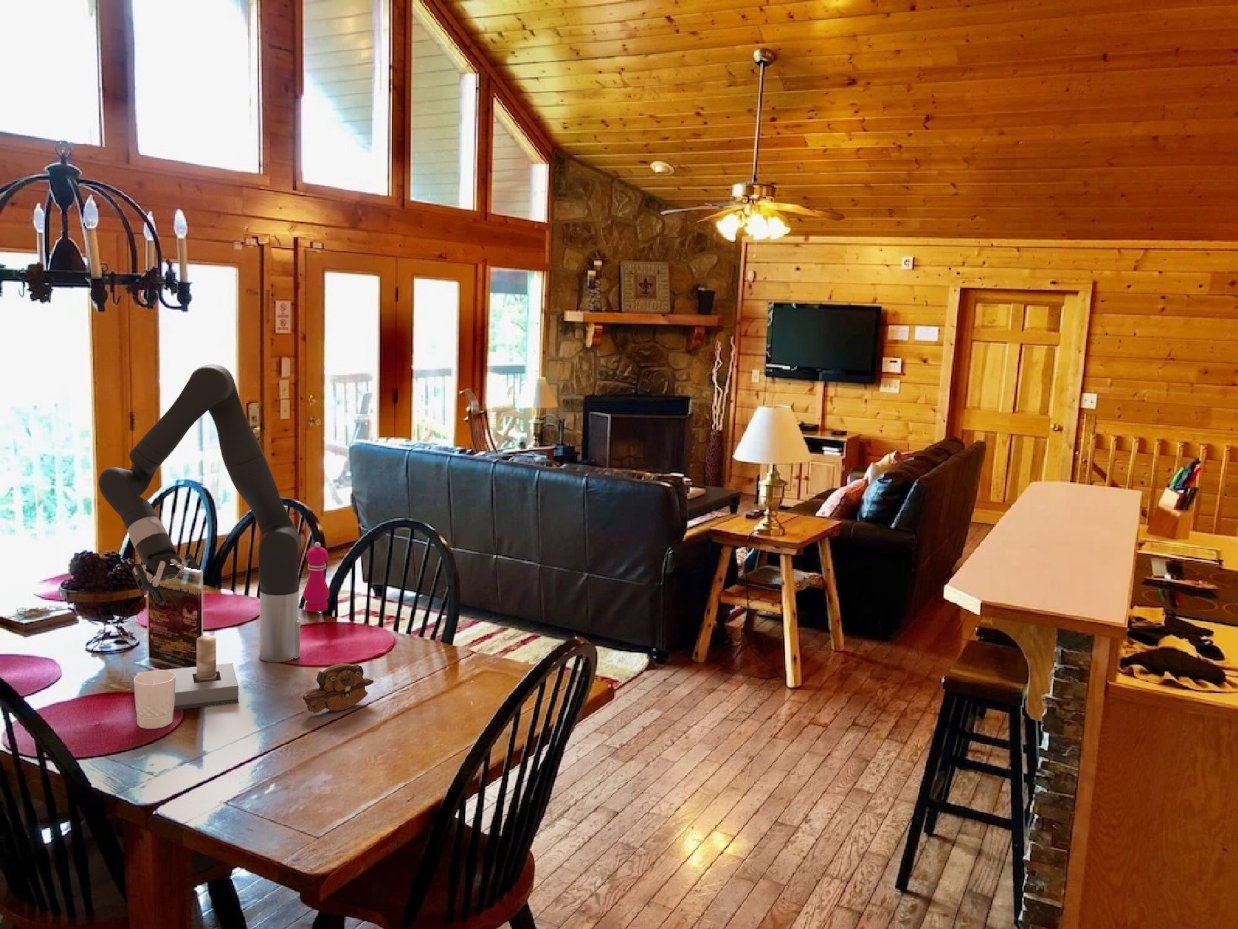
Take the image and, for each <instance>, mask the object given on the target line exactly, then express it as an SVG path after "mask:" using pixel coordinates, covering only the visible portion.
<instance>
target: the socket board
mask: <svg viewBox="0 0 1238 929" xmlns="http://www.w3.org/2000/svg"><path fill="white" fill-rule="evenodd" d="M166 670H167V671H171V672H174V673H175V674H176V685H175V703H174V709H173V711H178V710H179V709H180V710H186V709H187V710H188V709H196V708H205V707H212V706H213V707H214V706H221V705H232V704H239V703H240V702H239V695H240V694H239V690H240V689H239V686H240V685H239V683H238V679H237V676H236V674H237V673H236V672H235V668H234V665H233V663H232V662H230V663H221V664H216V679H215V680H214V681H209V682H200V683H199V682H198V681H197V679H196V675H197V666H191V667H190V666H189V667H181V668H179V667H178V668H170V669H166ZM143 672H144V671H140V672H136V676H137V675H138V674H141V673H143ZM180 710H179V711H180Z"/></svg>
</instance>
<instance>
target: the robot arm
mask: <svg viewBox="0 0 1238 929" xmlns="http://www.w3.org/2000/svg"><path fill="white" fill-rule="evenodd" d="M207 412H209V414H210V415H211V418H212V420H213V424H214V425H215V429H216V434H217V438H218V444H219V449H220V455H221V458H222V461H223V464H224V466H225V469H226V471H227V474H228V475H229V476H228V477H229V478H230V481H231V482H232V484H233V486H234V488H235V489H236V491H237V492H238V494H239V495H240V496H241V498H242V499H243V501H244V502H245V503H246V504H247V506H248V508H249V509H250V510H251V511H252V513H253V515H254V518H255V520H256V523H257V525H258V528H259V532H260V535H261V539H260V542H259V543H258V544H259V545H258V555H257V556H258V559H257V560H258V562H257V563H258V582H259V639H258V640H259V643H258V644H259V645H258V646H259V647H258V648H259V649H258V650H259V651H258V652H259V654H258V656H259V659H260V660H261V661H264V662H267V663H268V662H269V663H282V662H283V663H285V662H288V661H289V662H290V661H291V660H290V659H292V658H294V657H299V656H300V657H301V655H300V654H301V652H300V651H301V621H300V619H299V618H300V616H299V614H300V605H299V604H300V578H299V552H300V549H301V547H302V538H301V536H300V533H299V531H298V529H297V527H296V526H295V524H294V522H293V520H292V519H291V517H290V515H289V513H288V511H287V510H286V508H285V506H284V503H283V502H282V499H281V496H280V492H279V490H278V486H277V484H276V481H275V478H274V476H273V473H272V471H271V468H270V465H269V463H268V460H267V458H266V456H265V454H264V451H263V449H262V447H261V445H260V443H259V441H258V438H257V436H256V434H255V432H254V430H253V427H252V426H251V424H250V422H249V420H248V418H247V417H246V413H245V411H244V408H243V406H242V401H241V398H240V396H239V393H238V389H237V385H236V383H235V379H234V377H233V374H232V373H231V372H230V371H229V369H227V368H226V367H224V366H222V365H219V364H215V363H212V364H207V365H203V366H201V367H198V368H197V369H195V370H194V371H193V372H192V373H191V375H190V377H189V379H188V380H187V382H186V384H185V385H184V387H183V389H182V390H181V392H180V393H179V396H178V397H177V398H176V399H175V401H174V403H173V404H172V405H171V406H170V407H169V409H168V410H167V411H166V412H165V413H164V414H163V416H161V418H160V419H159V420H158V421H156V423H155V424H154V425H152V427H151V428H150V429H149V430H148V431H147V432H146V433H145V435H143V436H142V438H141V439H140V440H139V441H138V442H137V444H135V446H134V447H132V449H131V450H130V452H129V455H128V457H129V460H130V461H131V463H132V465H131V467H130V468H129V469H125V468H122V467H116V466H115V467H113V466H112V467H108V468H106V469H104V470H103V471H102V472H101V473H100V475H99V477H98V478H99V479H98V487H99V491H100V493H101V495H102V497H103V498H104V499H105V501H106V502H107V503H108V504H109V505H110V507H111V508H112V509H113V510H114V511H115V512H116V513H117V514H118V515H119V517H120V519H121V521H122V522H123V525H124V527H125V529H126V531H127V533H128V536H129V539H130V541H131V543H132V546H133V547H134V549H135V552H136V553H137V555H138V557H139V560H140V562H141V563H142V564H141V563H136V564H135V566H134V567H133V568H132V570H131V572H132V575H133V577H134V580H135V582H136V585H137V586H138V589H139V591H140V592H142V593H143V592H145V591H146V592H149V593H151V595H152V597H153V600H154V602H155V603H156V604H158V605H159V606H163V605H165V603H166V602H167V598H166V596H165V594H164V592H163V590H162V588H161V586H159V584H160V581H165V580H167V579H175V578H176V577H178V576H177V574H178V573H180V572H181V573H182V572H184V570H181V569H184V567H186V568H187V567H188V568H191V569H197V570H201V571H202V569H201V568H200V566H199V565H198V563H197V561H196V559H195V558H194V556H193V554H191V553H188V554H187V555H186V556H183V557H180V556H179V555H178V554H177V551H176V547H175V545H174V543H173V542H172V540H171V537H170V536H169V534H168V532H167V530H166V528H165V526H164V525H163V523H162V522H161V520H160V519H159V517H158V515H157V513H156V511H155V509H154V507H153V506H152V504H151V503H150V501H148V500H147V499H145V498H143V497H142V495H143V494H144V493H145V492H146V491H147V490H148V488H149V487H150V484H151V482H152V480H153V479H154V477H155V475H156V471H157V470H158V468H159V467H160V466H161V465H162V464H163V463H164V462H165V461H166V459H167V458H168V457H169V456H170V455H171V454H172V452H174V451H175V449H176V447H177V446H178V445H179V444H180V442H181V441H182V440H183V438H184V437H185V436H186V434H187V432H189V430H190V429H191V427H193V425H194V424H195V423H196V422H197V421H198V420H199V419H200V418H201V417H202V416H203V415H204V414H205V413H207ZM170 564H174V565H170ZM178 565H181V566H178ZM146 573H148V574H149V575H151V577H150V582H149V579H148V578H147V575H146ZM182 574H183V573H182ZM292 660H293V659H292Z"/></svg>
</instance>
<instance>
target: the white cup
mask: <svg viewBox="0 0 1238 929" xmlns="http://www.w3.org/2000/svg"><path fill="white" fill-rule="evenodd" d="M167 670H168V669H154V670H148V671H142V672H143V673H141V674H138V675H137V674H136V675H135V676H134V677H133V685H134V688H133V689H134V702H135V703H134V704H135V712H136V724H137V726H139V728H142V729H147V730H153V729H154V730H155V729H161V728H164V727H166V726H167V727H168V726H169V725H170V724H171V723H172V724H173V721H174V710H173V709H174V703H175V685H176V674H175V673H174V672H171V671H167Z"/></svg>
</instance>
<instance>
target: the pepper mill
mask: <svg viewBox="0 0 1238 929" xmlns="http://www.w3.org/2000/svg"><path fill="white" fill-rule="evenodd" d="M305 554H306V556H305V557H306V558H305V559H306V561H307V562H308V563H307V569H308V570H309V576H308V581H307V582H306V585H305V587H304V589H303V594H302V595H303V599H304V600H305V603H304V610H305V611H306V612H309V613H319V612H324V611H326V610H327V609H328V601H327V600H328V599H329V597H330V589H329V586H328V584H327V582H326V579H325V570H326V569H327V566H326V565H327V563H326V562H327V560H329V559H328V558H329V553H328V550H326V549H325V547H322V545H321V542H319V541H316V542H315V543H314V547H313V546H312V547H310V548H309V549H308V550H307V551H306V553H305Z"/></svg>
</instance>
